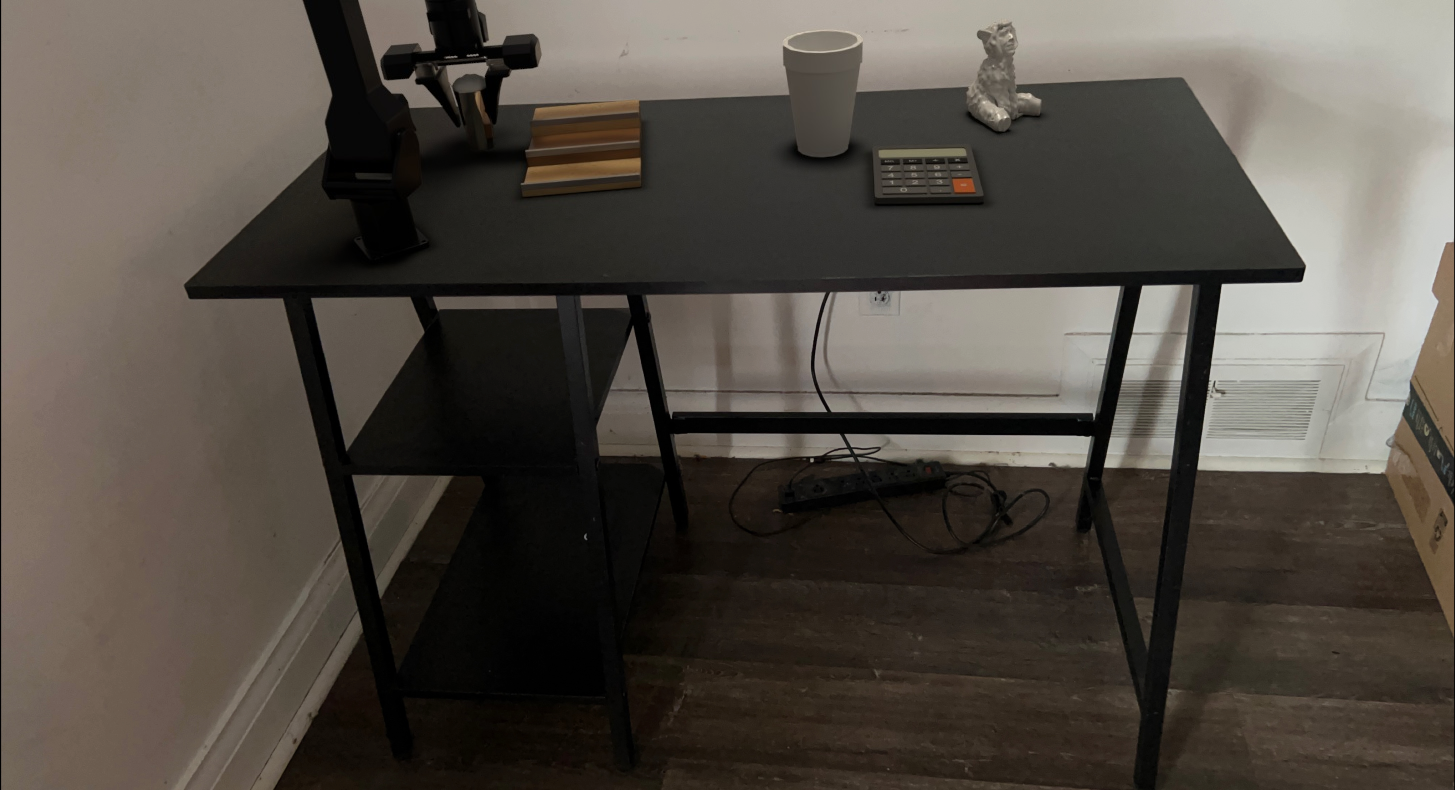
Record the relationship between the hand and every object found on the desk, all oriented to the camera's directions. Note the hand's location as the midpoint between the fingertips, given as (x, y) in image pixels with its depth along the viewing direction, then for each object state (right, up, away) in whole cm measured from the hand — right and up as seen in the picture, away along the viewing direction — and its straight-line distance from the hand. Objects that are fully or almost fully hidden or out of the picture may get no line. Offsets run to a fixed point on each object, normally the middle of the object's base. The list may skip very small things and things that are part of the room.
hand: (477, 125), depth 122 cm
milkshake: (0, -3, +2) cm, 3 cm away
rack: (+14, -4, 0) cm, 15 cm away
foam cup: (+44, -4, -2) cm, 44 cm away
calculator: (+55, -9, -12) cm, 57 cm away
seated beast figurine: (+67, +2, +2) cm, 67 cm away
